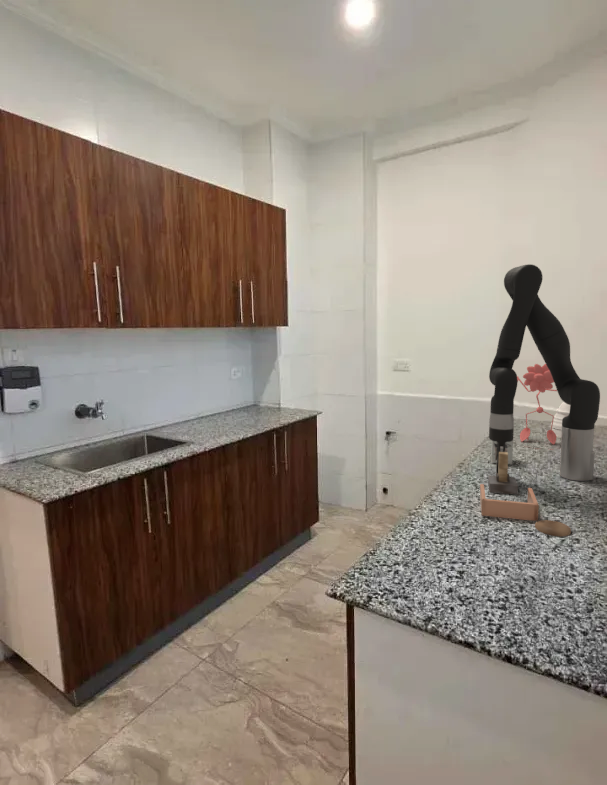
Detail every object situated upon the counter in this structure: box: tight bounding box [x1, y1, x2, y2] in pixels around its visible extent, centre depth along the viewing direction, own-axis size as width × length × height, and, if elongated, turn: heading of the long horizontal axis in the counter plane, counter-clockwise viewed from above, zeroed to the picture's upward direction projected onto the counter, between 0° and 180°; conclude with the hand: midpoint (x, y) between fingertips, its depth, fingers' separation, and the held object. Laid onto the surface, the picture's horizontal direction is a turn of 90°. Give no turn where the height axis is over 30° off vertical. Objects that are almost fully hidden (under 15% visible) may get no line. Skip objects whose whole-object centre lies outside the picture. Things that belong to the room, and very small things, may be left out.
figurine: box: [517, 363, 561, 451], centre depth 190 cm, size 15×26×35 cm, turn 54°
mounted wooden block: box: [487, 452, 519, 495], centre depth 142 cm, size 8×8×12 cm
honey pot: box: [550, 401, 570, 439], centre depth 205 cm, size 13×13×18 cm
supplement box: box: [490, 440, 514, 465], centre depth 170 cm, size 7×7×13 cm
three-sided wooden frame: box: [479, 483, 540, 522], centre depth 127 cm, size 14×13×4 cm
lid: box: [534, 519, 572, 537], centre depth 114 cm, size 8×8×1 cm
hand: (499, 475), depth 152 cm, fingers closed
